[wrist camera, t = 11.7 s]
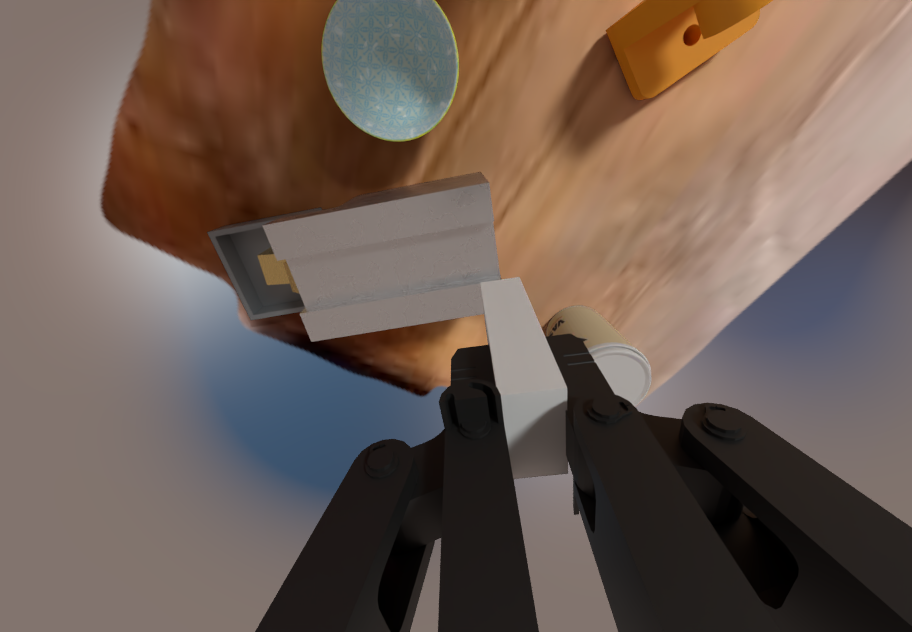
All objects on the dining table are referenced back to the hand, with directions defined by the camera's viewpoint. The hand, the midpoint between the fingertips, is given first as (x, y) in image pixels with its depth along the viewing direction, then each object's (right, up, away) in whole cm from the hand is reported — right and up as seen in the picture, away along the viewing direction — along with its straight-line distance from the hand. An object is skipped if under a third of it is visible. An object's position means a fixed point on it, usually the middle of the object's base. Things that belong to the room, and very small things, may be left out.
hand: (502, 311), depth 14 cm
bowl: (-7, +24, +21) cm, 32 cm away
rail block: (-8, +9, +28) cm, 31 cm away
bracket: (+18, +27, +20) cm, 38 cm away
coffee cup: (+14, -2, +34) cm, 37 cm away
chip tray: (-22, +6, +29) cm, 37 cm away
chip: (-20, +6, +27) cm, 34 cm away
